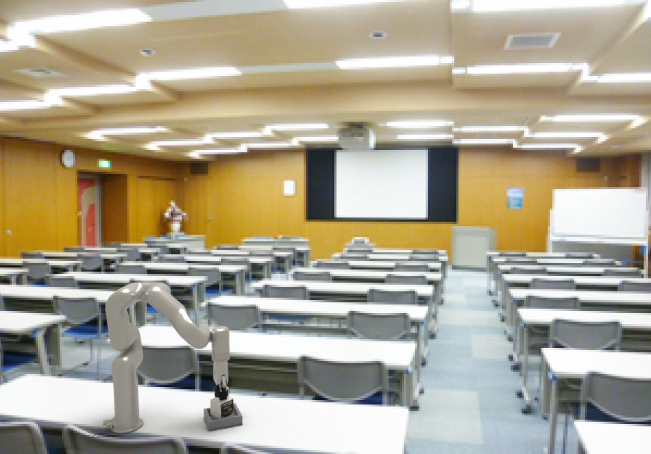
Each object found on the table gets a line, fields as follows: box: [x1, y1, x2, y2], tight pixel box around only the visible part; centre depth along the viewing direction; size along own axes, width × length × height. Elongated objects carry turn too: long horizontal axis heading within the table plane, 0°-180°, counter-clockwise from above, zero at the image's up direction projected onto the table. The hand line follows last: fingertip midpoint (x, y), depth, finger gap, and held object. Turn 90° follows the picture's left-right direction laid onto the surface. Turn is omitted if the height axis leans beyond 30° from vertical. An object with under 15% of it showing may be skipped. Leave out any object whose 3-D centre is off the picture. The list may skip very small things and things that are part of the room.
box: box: [203, 402, 243, 433], centre depth 205 cm, size 14×14×4 cm
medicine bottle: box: [209, 386, 235, 419], centre depth 205 cm, size 7×7×12 cm
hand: (221, 396), depth 205 cm, fingers closed on medicine bottle, 6 cm apart
